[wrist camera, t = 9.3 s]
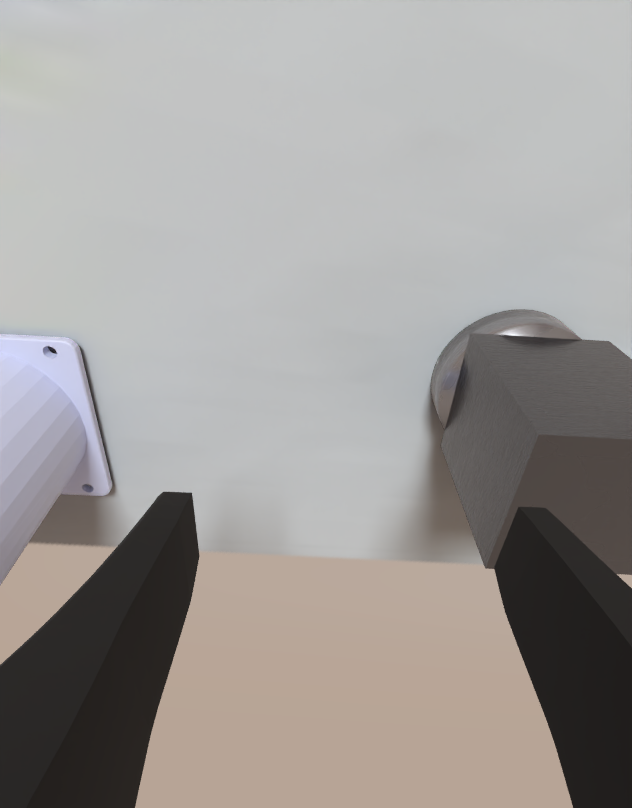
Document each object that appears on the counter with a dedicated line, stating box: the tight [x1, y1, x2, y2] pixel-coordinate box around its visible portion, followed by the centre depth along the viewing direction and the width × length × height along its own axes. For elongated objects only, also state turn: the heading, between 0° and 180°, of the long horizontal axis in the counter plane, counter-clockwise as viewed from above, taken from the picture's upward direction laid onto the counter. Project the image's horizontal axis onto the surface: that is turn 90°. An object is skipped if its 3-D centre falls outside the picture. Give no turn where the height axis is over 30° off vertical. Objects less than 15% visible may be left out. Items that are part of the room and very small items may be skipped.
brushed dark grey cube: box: [441, 333, 632, 575], centre depth 15 cm, size 5×5×6 cm
